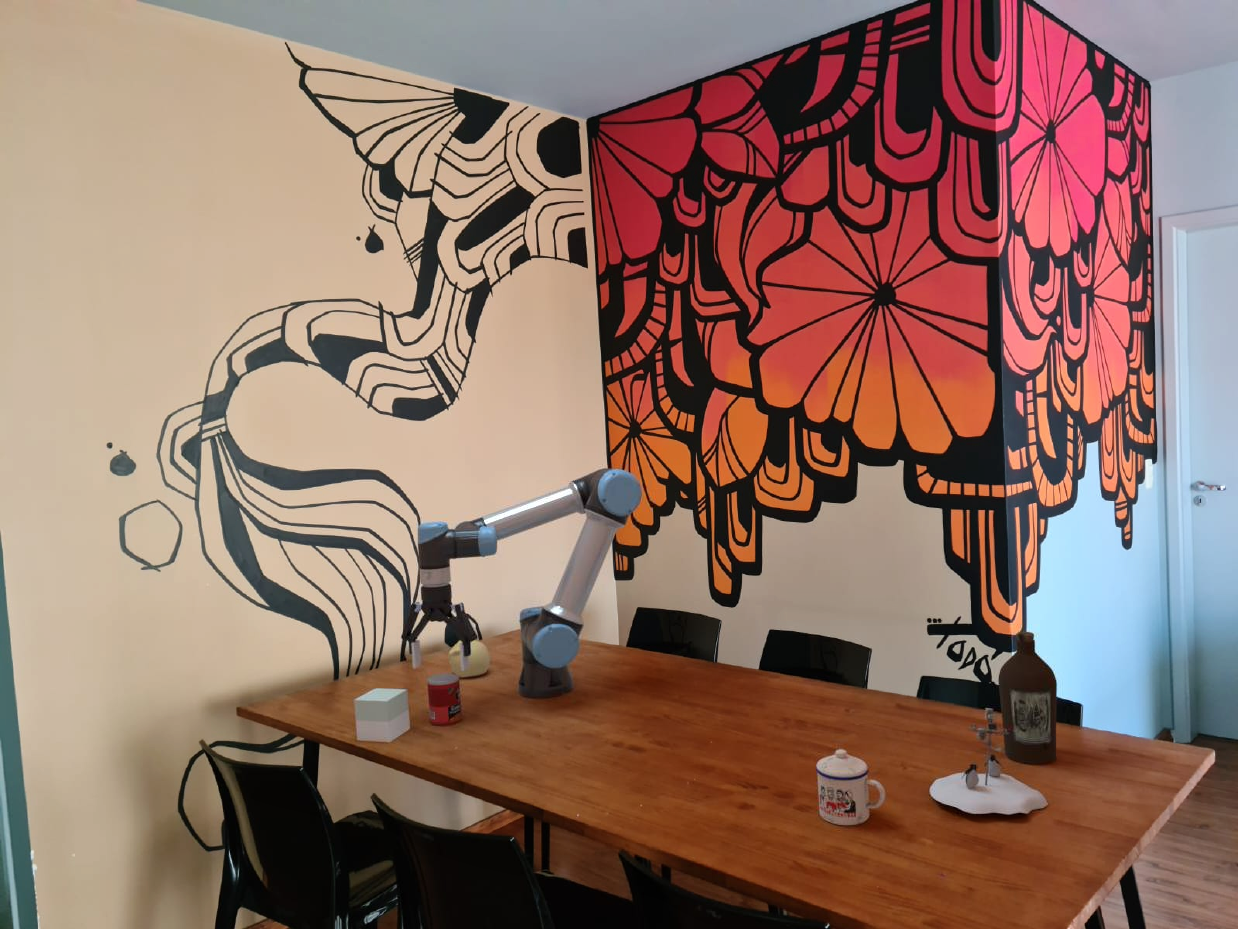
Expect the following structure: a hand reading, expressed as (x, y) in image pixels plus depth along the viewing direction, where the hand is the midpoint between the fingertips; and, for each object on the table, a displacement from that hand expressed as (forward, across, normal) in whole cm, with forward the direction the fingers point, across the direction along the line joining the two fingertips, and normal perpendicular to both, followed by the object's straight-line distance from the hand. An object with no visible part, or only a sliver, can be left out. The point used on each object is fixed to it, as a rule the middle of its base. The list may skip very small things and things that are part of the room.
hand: (440, 668), depth 219 cm
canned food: (+14, 0, 0) cm, 14 cm away
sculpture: (+14, -12, +38) cm, 43 cm away
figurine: (+13, +124, -25) cm, 128 cm away
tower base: (+14, -10, -11) cm, 20 cm away
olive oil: (+12, +134, -3) cm, 135 cm away
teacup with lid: (+13, +102, -36) cm, 108 cm away
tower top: (+9, -11, -11) cm, 17 cm away
